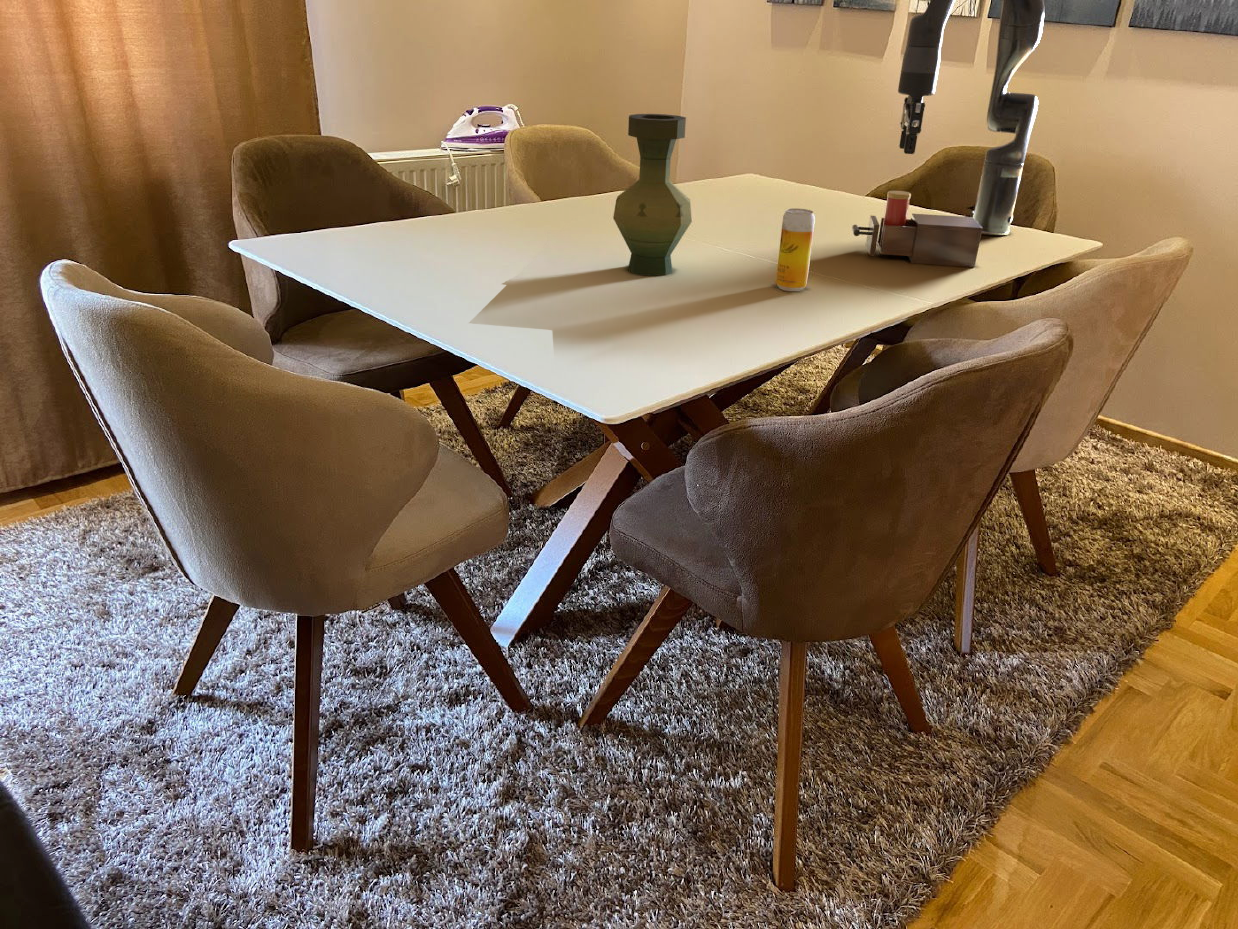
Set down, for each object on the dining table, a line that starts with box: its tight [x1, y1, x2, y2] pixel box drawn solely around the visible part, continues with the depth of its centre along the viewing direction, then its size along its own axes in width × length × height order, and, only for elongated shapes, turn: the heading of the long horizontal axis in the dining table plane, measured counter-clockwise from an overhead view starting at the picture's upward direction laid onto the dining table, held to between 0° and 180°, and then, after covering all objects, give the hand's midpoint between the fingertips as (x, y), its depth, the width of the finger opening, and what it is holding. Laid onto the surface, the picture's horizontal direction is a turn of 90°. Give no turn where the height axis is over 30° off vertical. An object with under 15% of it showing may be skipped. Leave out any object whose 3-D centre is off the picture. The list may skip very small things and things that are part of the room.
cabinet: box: [907, 213, 983, 268], centre depth 207 cm, size 14×12×9 cm
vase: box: [612, 113, 693, 277], centre depth 186 cm, size 16×16×30 cm
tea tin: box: [880, 190, 912, 247], centre depth 207 cm, size 5×5×12 cm
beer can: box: [775, 207, 816, 292], centre depth 180 cm, size 6×6×15 cm
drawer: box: [851, 215, 917, 257], centre depth 209 cm, size 16×10×7 cm, turn 81°
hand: (906, 150), depth 200 cm, fingers open, 8 cm apart
